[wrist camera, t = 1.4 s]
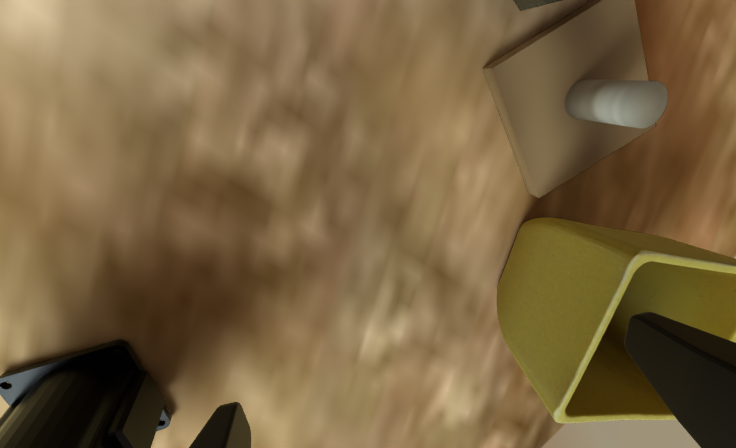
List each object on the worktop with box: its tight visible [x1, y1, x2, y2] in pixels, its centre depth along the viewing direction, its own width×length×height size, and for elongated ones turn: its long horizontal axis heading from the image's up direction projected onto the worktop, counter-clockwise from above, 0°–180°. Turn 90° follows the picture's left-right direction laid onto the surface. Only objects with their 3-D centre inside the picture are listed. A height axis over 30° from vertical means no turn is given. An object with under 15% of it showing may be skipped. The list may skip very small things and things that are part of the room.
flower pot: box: [497, 217, 736, 423], centre depth 21 cm, size 9×9×9 cm
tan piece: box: [483, 0, 668, 198], centre depth 19 cm, size 8×8×5 cm
